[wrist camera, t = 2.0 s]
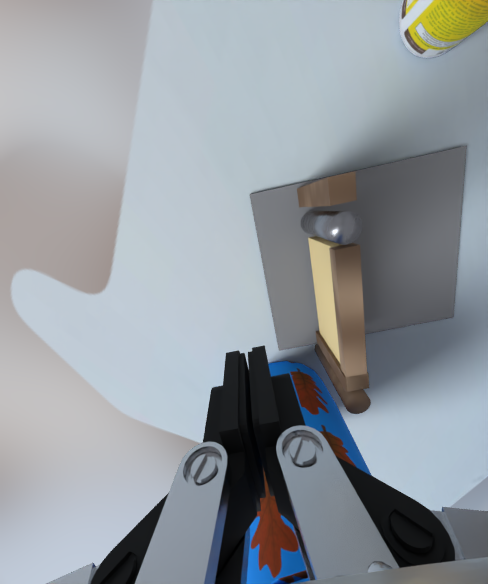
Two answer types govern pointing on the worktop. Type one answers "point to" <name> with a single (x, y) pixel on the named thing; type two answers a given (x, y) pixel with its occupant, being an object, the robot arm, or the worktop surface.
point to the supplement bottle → (439, 24)
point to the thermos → (269, 522)
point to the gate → (339, 293)
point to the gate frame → (368, 247)
